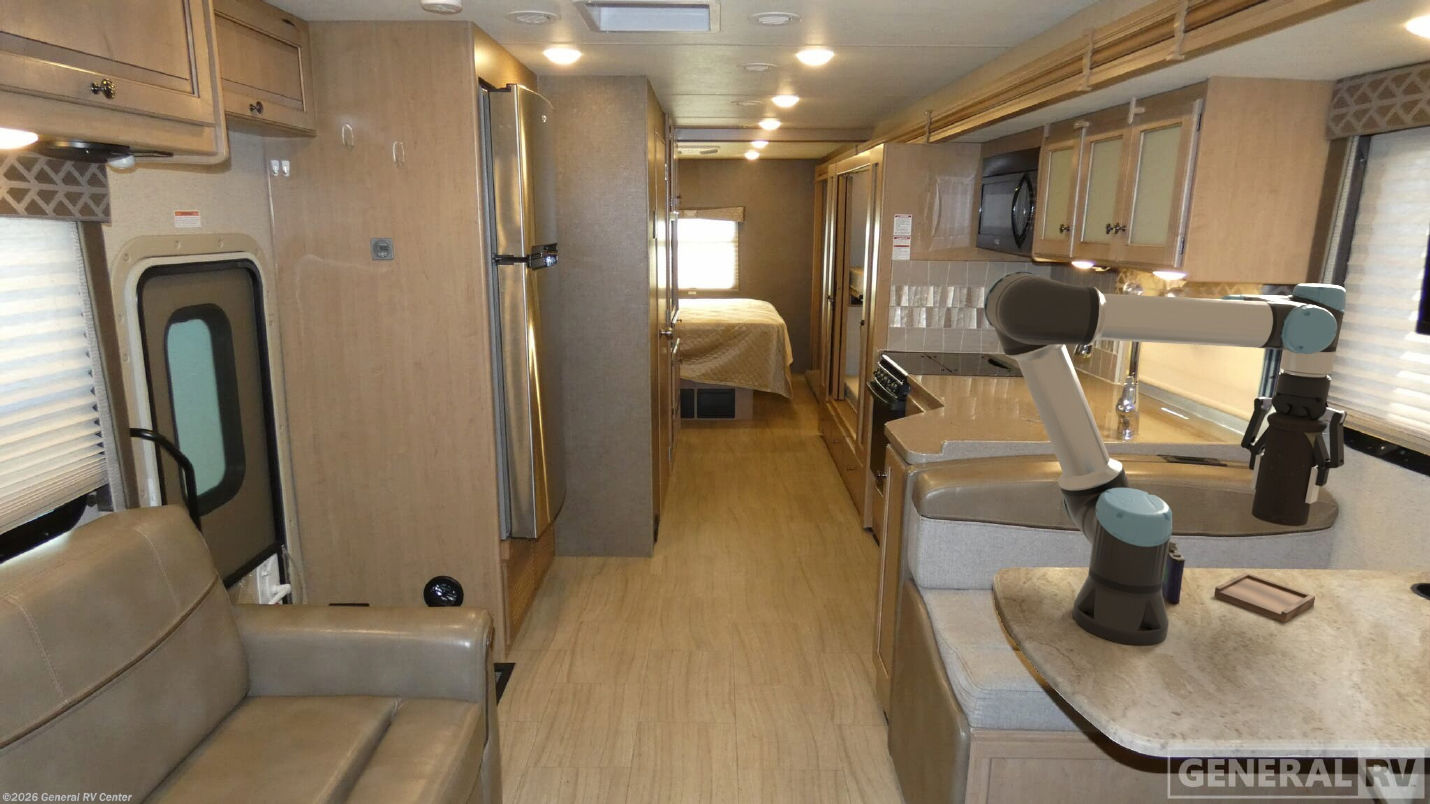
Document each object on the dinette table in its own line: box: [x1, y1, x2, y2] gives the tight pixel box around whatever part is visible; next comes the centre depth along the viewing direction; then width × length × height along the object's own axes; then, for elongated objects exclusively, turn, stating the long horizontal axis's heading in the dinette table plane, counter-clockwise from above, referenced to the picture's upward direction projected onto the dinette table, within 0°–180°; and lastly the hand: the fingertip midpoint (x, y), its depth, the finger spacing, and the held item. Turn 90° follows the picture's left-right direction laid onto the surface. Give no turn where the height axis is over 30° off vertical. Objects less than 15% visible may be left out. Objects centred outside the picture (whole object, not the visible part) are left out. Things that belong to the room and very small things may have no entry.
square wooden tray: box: [1213, 572, 1316, 623], centre depth 152 cm, size 12×12×2 cm
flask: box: [1162, 541, 1186, 605], centre depth 153 cm, size 9×3×11 cm, turn 175°
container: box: [1251, 411, 1328, 527], centre depth 146 cm, size 9×9×20 cm
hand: (1282, 494), depth 147 cm, fingers closed on container, 8 cm apart
